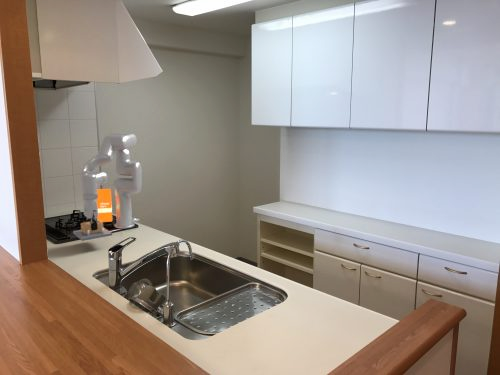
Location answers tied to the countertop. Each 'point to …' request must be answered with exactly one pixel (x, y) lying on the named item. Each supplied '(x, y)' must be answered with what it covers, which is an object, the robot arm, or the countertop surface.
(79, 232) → the pin tray
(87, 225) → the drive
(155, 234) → the countertop surface
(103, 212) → the orange juice
